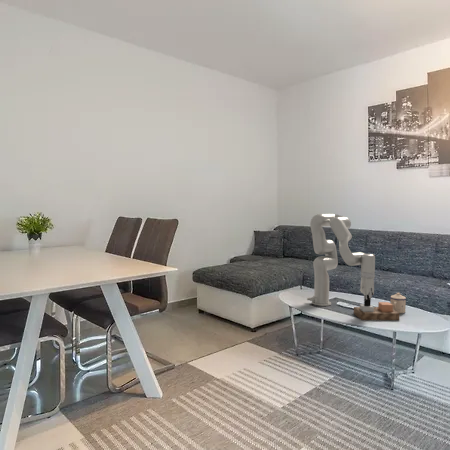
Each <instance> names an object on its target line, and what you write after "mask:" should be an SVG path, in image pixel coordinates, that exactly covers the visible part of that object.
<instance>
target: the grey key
mask: <svg viewBox="0 0 450 450" xmlns="http://www.w3.org/2000/svg"><path fill="white" fill-rule="evenodd" d="M359 307H360V310H361V311H363V312H374V307H375V306H373V305H372V304H370V306H365V305H364V303H363V304H359Z"/></svg>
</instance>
